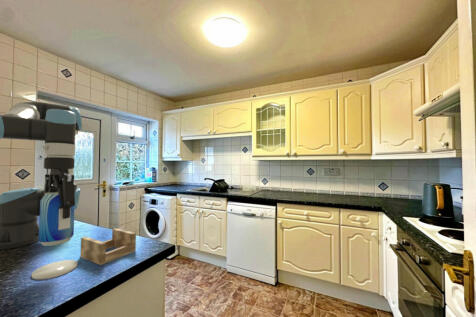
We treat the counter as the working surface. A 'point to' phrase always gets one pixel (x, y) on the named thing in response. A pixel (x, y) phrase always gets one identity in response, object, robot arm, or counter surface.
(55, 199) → the beer can
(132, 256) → the counter surface
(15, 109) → the robot arm
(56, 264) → the trivet
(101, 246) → the oak holder
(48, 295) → the counter surface
